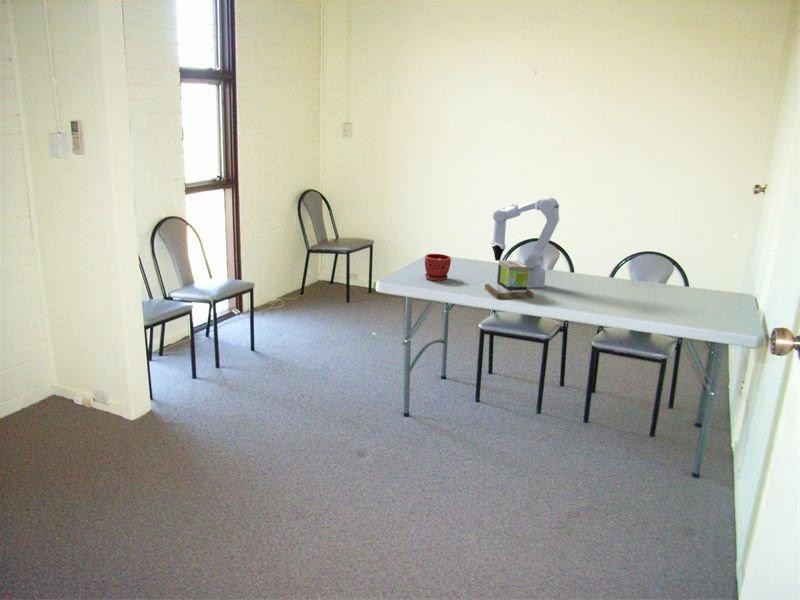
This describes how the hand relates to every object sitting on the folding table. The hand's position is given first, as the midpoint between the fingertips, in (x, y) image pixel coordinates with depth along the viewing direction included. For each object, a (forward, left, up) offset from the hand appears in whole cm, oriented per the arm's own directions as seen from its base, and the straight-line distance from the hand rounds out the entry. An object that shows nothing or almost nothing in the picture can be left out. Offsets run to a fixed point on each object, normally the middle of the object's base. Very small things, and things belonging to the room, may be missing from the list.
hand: (497, 260), depth 342 cm
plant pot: (+30, -5, -11) cm, 32 cm away
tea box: (+1, +26, -11) cm, 28 cm away
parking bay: (+3, +25, -10) cm, 27 cm away
